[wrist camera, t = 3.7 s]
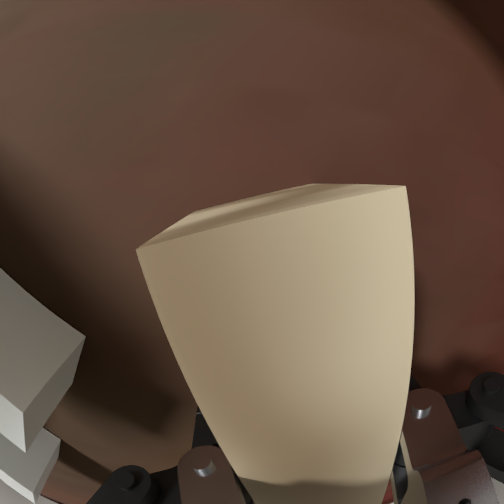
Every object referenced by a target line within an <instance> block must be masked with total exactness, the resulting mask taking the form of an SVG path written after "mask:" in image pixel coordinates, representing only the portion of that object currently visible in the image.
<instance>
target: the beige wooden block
mask: <svg viewBox="0 0 504 504" xmlns="http://www.w3.org/2000/svg"><path fill="white" fill-rule="evenodd" d="M136 252H137V255H138V258H139V261H140V264H141V268H142V271H143V274H144V277H145V280H146V282H147V285H148V288H149V291H150V294H151V297H152V299H153V302H154V305H155V308H156V310H157V313H158V316H159V318H160V321H161V323H162V326H163V328H164V331H165V333H166V336H167V338H168V341H169V343H170V346H171V348H172V350H173V353H174V355H175V357H176V360H177V362H178V364H179V366H180V369H181V371H182V373H183V375H184V377H185V379H186V382H187V384H188V386H189V388H190V390H191V392H192V394H193V396H194V398H195V400H196V402H197V404H198V406H199V408H200V410H201V412H202V414H203V416H204V418H205V420H206V422H207V424H208V426H209V427H210V429H211V431H212V433H213V435H214V437H215V438H216V440H217V442H218V444H219V446H220V447H221V449H222V451H223V452H224V454H225V456H226V458H227V459H228V461H229V463H230V464H231V466H232V468H233V469H234V471H235V472H236V474H237V476H238V477H239V479H240V480H241V482H242V483H243V485H244V487H245V488H246V490H247V491H248V493H249V494H250V496H251V497H252V499H253V500H254V501H255V503H256V504H381V503H382V500H383V497H384V494H385V491H386V488H387V485H388V482H389V478H390V475H391V471H392V468H393V464H394V460H395V457H396V453H397V448H398V444H399V440H400V435H401V430H402V425H403V420H404V415H405V409H406V403H407V396H408V389H409V382H410V373H411V363H412V352H413V336H414V306H415V291H414V260H413V245H412V233H411V223H410V214H409V206H408V198H407V192H406V186H395V185H369V184H309V185H304V186H299V187H294V188H290V189H285V190H281V191H276V192H272V193H267V194H263V195H258V196H254V197H250V198H246V199H242V200H238V201H233V202H229V203H225V204H221V205H217V206H214V207H210V208H206V209H202V210H198V211H194V212H193V213H191V214H190V215H188V216H186V217H185V218H183V219H182V220H180V221H178V222H177V223H175V224H174V225H172V226H170V227H169V228H167V229H166V230H164V231H163V232H161V233H160V234H158V235H156V236H155V237H153V238H152V239H150V240H149V241H147V242H146V243H144V244H143V245H141V246H140V247H138V248H137V249H136Z"/></svg>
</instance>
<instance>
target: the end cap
mask: <svg viewBox="0 0 504 504" xmlns="http://www.w3.org/2000/svg"><path fill="white" fill-rule="evenodd" d="M85 338H86V336H84V335H83V334H81V333H80V332H79V331H77V330H76V329H74V328H73V327H71V326H70V325H69V324H67V323H66V322H65V321H63V320H62V319H60V318H59V317H58V316H56V315H55V314H54V313H53V312H51V311H50V310H49V309H47V308H46V307H45V306H44V305H42V304H41V303H40V302H39V301H37V300H36V299H35V298H34V297H32V296H31V295H30V294H29V293H28V292H27V291H25V290H24V289H23V288H22V287H21V286H20V285H19V284H17V283H16V282H15V281H14V280H13V279H12V278H11V277H10V276H9V275H8V274H6V273H5V272H4V271H3V270H2V269H1V268H0V479H1V480H3V481H4V482H5V483H6V484H8V485H9V486H10V487H12V488H13V489H14V490H16V491H17V492H18V493H20V494H21V495H23V496H24V497H26V498H27V499H29V500H30V501H32V502H33V503H36V501H37V499H38V497H39V495H40V493H41V491H42V489H43V487H44V484H45V482H46V480H47V478H48V476H49V474H50V472H51V470H52V468H53V466H54V464H55V463H56V461H57V459H58V456H59V448H60V442H61V439H59V438H58V437H56V436H55V435H53V434H52V433H50V432H49V431H47V430H46V429H44V428H43V426H44V424H45V423H46V421H47V420H48V418H49V417H50V415H51V414H52V412H53V411H54V409H55V408H56V406H57V405H58V403H59V402H60V400H61V399H62V398H63V396H64V395H65V393H66V392H67V390H68V389H69V388H70V386H71V385H72V383H73V380H74V376H75V372H76V368H77V365H78V361H79V358H80V354H81V351H82V348H83V344H84V341H85Z"/></svg>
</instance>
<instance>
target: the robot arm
mask: <svg viewBox="0 0 504 504" xmlns="http://www.w3.org/2000/svg"><path fill="white" fill-rule="evenodd" d="M495 426H496V427H498V428H500V429H503V430H504V375H502V374H500V373H497V372H486V373H482V374H480V375H478V376H477V377H476V378H474V380H473V381H472V383H471V385H470V388H469V390H467V391H463V392H459V393H456V394H452V395H446V396H442V395H441V394H440V393H438V392H437V391H435V390H432V389H427V388H421V387H420V385H419V384H418V383H417V382H416V381H415V379H414V378H413V377H412V376H411V375H410V382H409V389H408V396H407V403H406V409H405V415H404V420H403V425H402V430H401V435H400V440H399V444H398V448H397V453H396V457H395V460H394V464H393V468H392V471H391V475H390V478H391V484H392V491H393V498H394V504H499V501H498V498H497V495H496V492H495V489H494V486H493V483H492V480H491V477H492V478H494V479H496V480H498V481H500V482H502V483H504V432H502V431H500V430H498V429H496V428H494V427H495ZM86 504H256V503H255V501H254V500H253V499H252V497H251V496H250V494H249V493H248V491H247V490H246V488H245V487H244V485H243V483H242V482H241V480H240V479H239V477H238V476H237V474H236V472H235V471H234V469H233V468H232V466H231V464H230V463H229V461H228V459H227V458H226V456H225V454H224V452H223V451H222V449H221V447H220V446H219V444H218V442H217V440H216V438H215V437H214V435H213V433H212V431H211V429H210V427H209V426H208V424H207V422H206V420H205V418H204V416H203V414H202V412H201V410H200V408H199V406H198V408H197V415H196V422H195V429H194V436H193V443H192V449H191V450H189V451H187V452H186V453H185V454H184V455H183V456H182V457H181V458H180V460H179V462H178V465H177V466H175V467H173V468H170V469H167V470H163V471H159V472H155V473H151V474H149V473H148V472H147V471H146V470H145V469H144V468H142V467H139V466H135V465H128V466H123V467H121V468H119V469H117V470H115V471H114V472H113V473H112V474H111V475H110V476H109V478H108V479H107V480H106V481H105V482H104V483H103V485H102V486H101V487H100V488H99V489H98V491H97V492H96V493H95V494H94V495H93V496H92V498H91V499H90V500H89V501H88V502H87V503H86Z"/></svg>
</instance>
